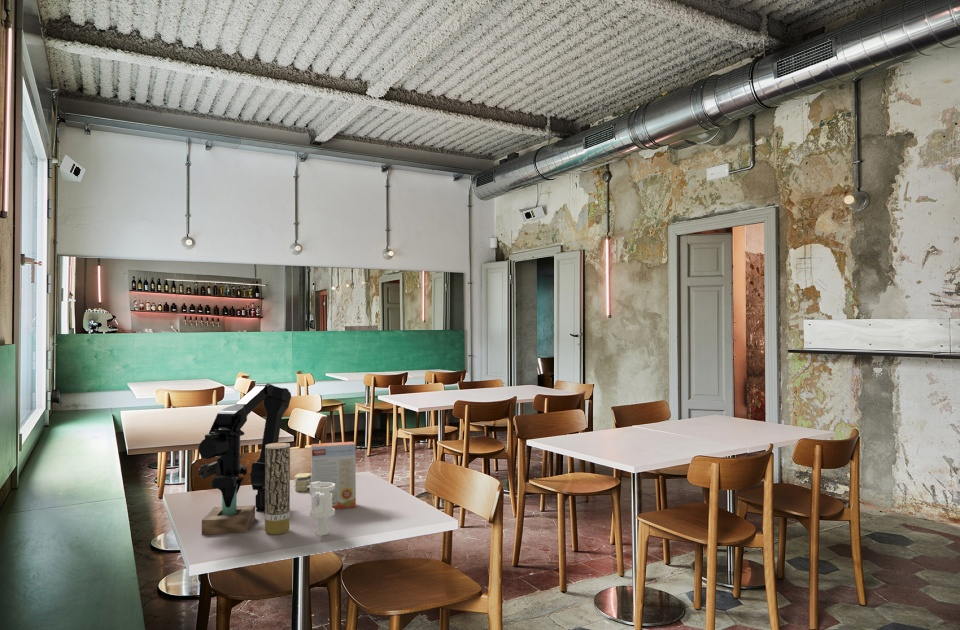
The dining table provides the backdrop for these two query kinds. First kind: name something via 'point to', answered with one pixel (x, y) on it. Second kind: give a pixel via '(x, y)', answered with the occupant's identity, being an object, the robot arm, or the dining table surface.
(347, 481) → the cracker box
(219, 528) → the socket block
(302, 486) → the stacked layers on plate
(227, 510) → the peg
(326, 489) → the white plastic upright piece
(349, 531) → the dining table surface
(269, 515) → the paper tube
